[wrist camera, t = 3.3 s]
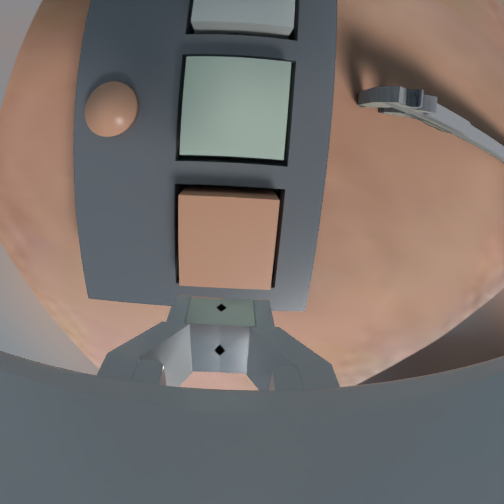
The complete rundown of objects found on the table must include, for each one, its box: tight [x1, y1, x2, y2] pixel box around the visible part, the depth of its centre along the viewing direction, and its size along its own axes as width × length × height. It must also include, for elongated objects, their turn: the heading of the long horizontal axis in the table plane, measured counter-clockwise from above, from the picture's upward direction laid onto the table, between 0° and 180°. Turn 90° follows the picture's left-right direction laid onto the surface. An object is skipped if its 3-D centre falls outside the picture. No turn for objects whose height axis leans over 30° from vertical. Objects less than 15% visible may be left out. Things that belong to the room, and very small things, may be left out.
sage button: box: [180, 56, 291, 160], centre depth 14 cm, size 5×5×3 cm
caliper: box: [358, 86, 504, 162], centre depth 16 cm, size 20×1×6 cm, turn 83°
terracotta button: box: [178, 185, 280, 290], centre depth 17 cm, size 5×5×3 cm
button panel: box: [74, 0, 337, 311], centre depth 15 cm, size 23×14×5 cm, turn 176°
